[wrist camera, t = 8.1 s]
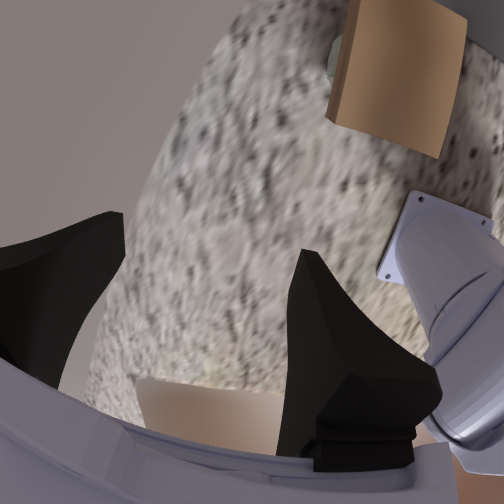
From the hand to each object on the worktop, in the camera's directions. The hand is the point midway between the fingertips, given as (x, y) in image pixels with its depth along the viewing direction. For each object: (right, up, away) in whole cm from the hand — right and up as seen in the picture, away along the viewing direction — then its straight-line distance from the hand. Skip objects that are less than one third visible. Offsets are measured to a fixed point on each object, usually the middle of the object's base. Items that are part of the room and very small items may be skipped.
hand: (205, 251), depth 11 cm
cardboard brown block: (+9, +10, +1) cm, 14 cm away
